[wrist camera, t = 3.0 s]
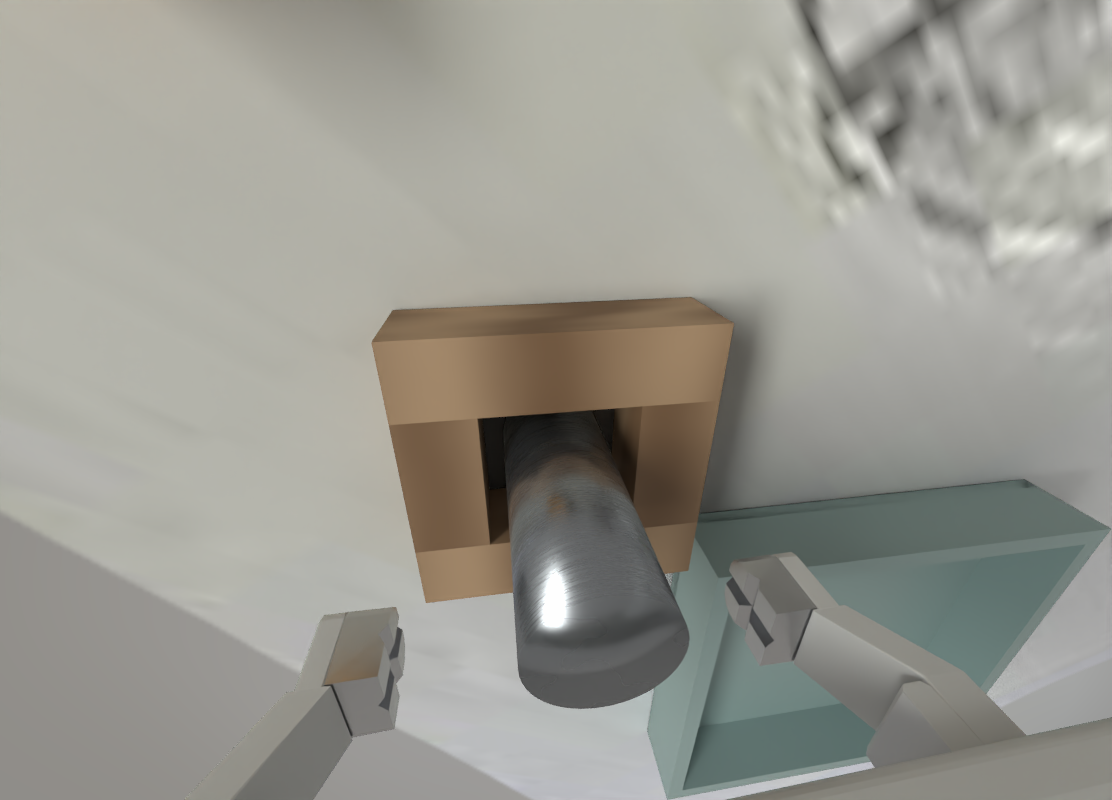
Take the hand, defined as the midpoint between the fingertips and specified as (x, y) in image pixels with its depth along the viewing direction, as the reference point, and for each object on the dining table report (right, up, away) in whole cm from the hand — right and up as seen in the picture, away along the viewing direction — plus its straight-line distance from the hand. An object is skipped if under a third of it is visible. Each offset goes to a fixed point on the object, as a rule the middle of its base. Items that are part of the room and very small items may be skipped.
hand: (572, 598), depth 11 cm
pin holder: (-1, +4, +6) cm, 7 cm away
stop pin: (-1, +4, +6) cm, 7 cm away
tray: (+14, -8, +15) cm, 22 cm away
